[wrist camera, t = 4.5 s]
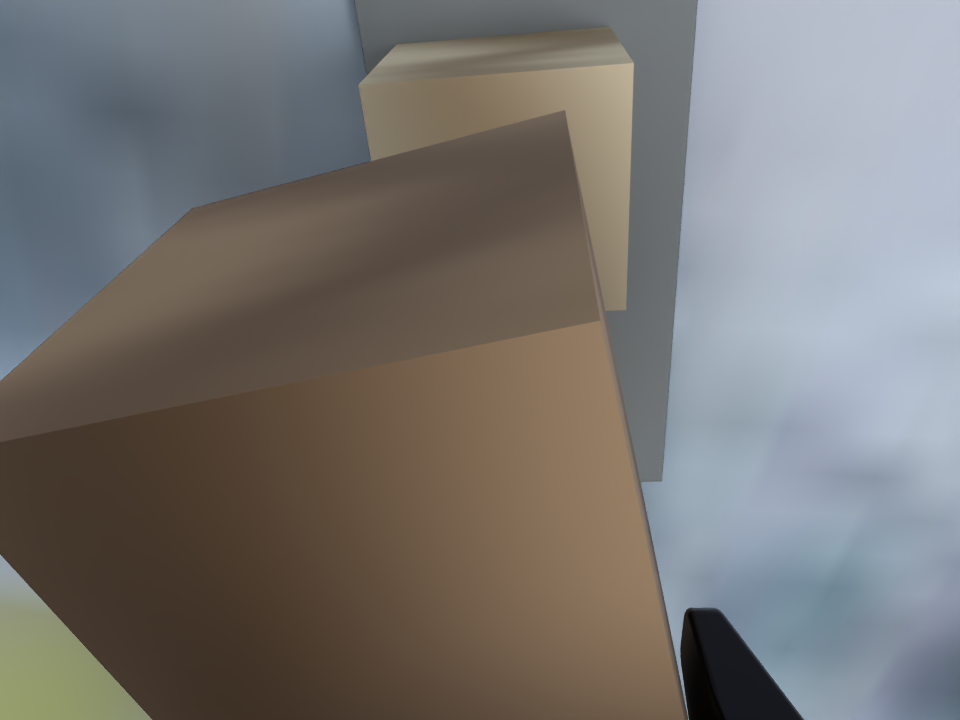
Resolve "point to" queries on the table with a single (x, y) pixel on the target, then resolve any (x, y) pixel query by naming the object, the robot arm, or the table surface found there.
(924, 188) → the table surface
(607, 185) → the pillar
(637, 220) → the mat
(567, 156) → the lintel
